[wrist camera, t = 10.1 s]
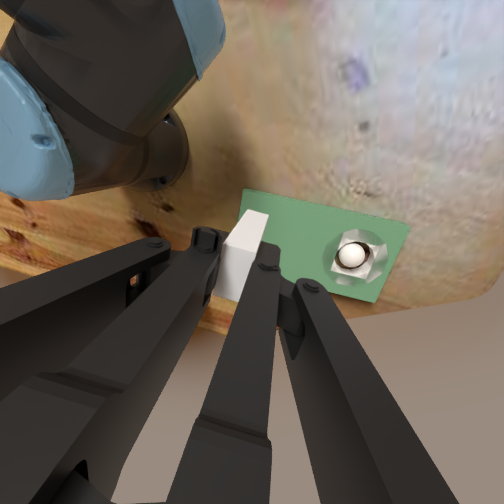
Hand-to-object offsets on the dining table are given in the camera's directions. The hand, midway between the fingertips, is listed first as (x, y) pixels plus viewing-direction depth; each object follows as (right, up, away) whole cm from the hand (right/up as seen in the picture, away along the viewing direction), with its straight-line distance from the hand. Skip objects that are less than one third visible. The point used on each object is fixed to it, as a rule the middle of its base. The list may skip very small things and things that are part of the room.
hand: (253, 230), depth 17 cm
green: (+10, 0, +26) cm, 27 cm away
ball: (+16, -2, +23) cm, 28 cm away
